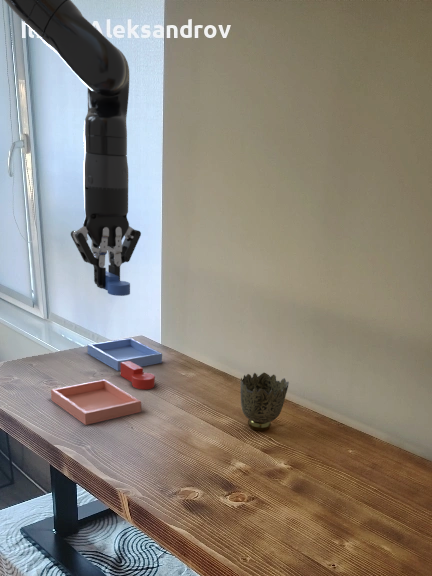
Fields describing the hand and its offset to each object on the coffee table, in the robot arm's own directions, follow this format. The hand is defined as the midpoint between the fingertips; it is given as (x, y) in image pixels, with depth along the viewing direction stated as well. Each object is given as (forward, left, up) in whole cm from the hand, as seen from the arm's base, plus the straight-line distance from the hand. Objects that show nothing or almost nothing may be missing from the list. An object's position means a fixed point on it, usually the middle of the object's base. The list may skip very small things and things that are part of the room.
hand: (107, 286), depth 115 cm
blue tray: (+1, +4, -14) cm, 15 cm away
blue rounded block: (+2, 0, 0) cm, 2 cm away
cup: (+39, +5, -14) cm, 41 cm away
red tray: (+19, -13, -14) cm, 27 cm away
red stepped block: (+13, -2, -14) cm, 19 cm away
